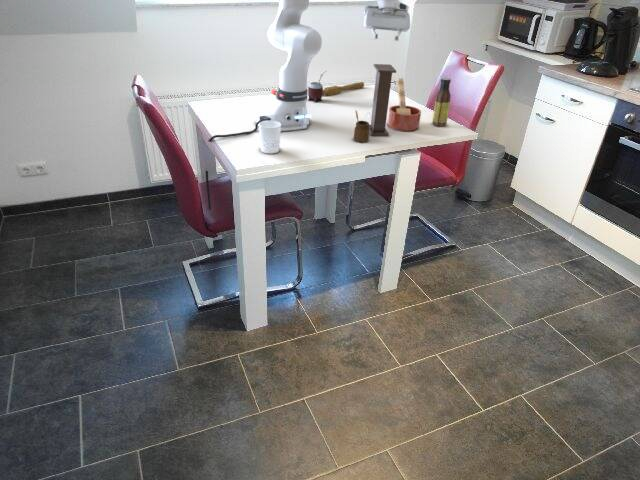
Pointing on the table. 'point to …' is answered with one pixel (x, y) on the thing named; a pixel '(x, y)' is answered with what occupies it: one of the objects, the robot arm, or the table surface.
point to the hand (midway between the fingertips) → (386, 39)
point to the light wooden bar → (402, 99)
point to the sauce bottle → (442, 103)
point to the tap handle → (341, 88)
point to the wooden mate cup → (361, 130)
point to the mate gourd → (315, 90)
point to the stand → (381, 99)
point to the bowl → (404, 119)
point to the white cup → (269, 136)
